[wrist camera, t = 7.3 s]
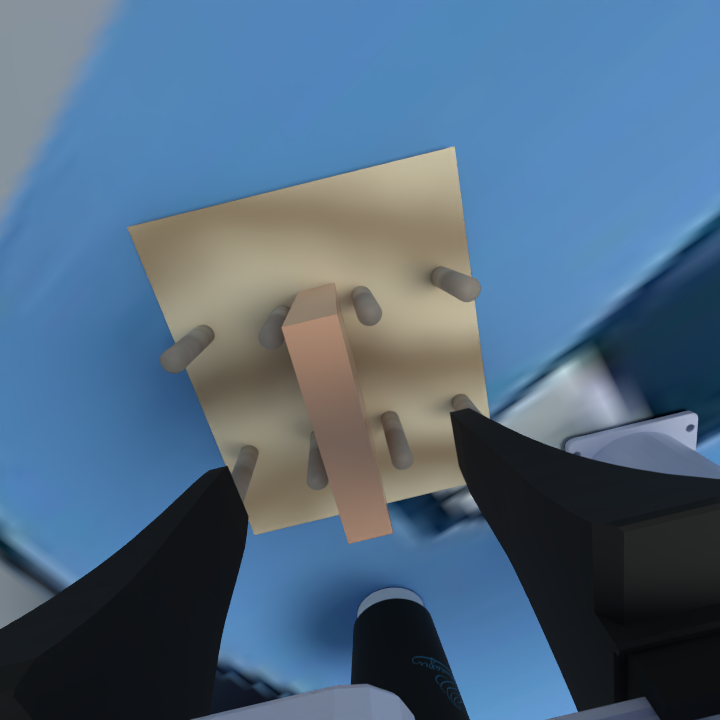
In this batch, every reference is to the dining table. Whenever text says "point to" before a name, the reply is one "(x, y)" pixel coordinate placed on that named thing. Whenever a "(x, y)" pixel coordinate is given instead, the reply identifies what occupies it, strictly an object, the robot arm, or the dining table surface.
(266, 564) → the dining table surface
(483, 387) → the dish rack
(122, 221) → the dining table surface
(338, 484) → the brown rectangular block
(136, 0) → the dining table surface
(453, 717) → the dixie cup
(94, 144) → the dining table surface
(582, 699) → the robot arm
